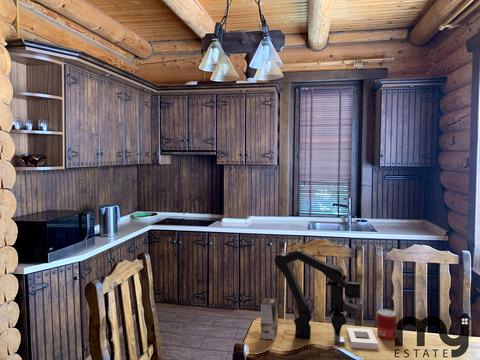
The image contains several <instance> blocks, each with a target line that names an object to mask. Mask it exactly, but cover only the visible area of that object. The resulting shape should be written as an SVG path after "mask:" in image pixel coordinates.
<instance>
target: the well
mask: <svg viewBox="0 0 480 360" xmlns="http://www.w3.org/2000/svg"><path fill="white" fill-rule="evenodd" d="M372 329H373V328H362V327H361V328H360V327H346V334H347V338H348V341H349V344H350V347H351V348H353V349H354V348H355V349H356V348H357V349H368V350H370V349H371V350H379V342H378V340H377V338H376V336H375V334H374V331H373V330H372Z"/></svg>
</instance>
